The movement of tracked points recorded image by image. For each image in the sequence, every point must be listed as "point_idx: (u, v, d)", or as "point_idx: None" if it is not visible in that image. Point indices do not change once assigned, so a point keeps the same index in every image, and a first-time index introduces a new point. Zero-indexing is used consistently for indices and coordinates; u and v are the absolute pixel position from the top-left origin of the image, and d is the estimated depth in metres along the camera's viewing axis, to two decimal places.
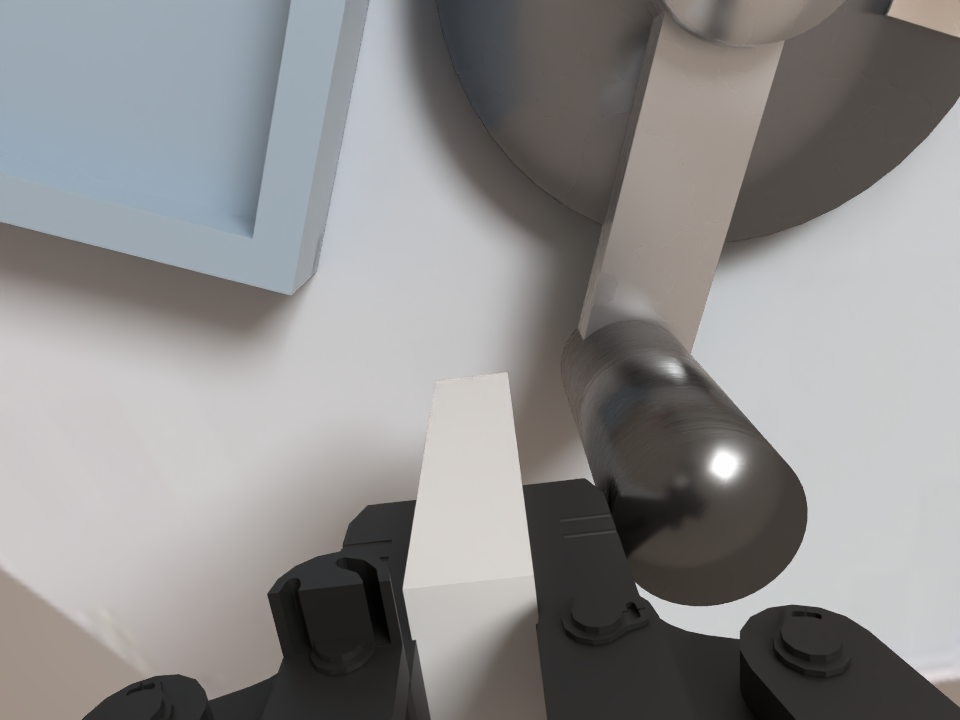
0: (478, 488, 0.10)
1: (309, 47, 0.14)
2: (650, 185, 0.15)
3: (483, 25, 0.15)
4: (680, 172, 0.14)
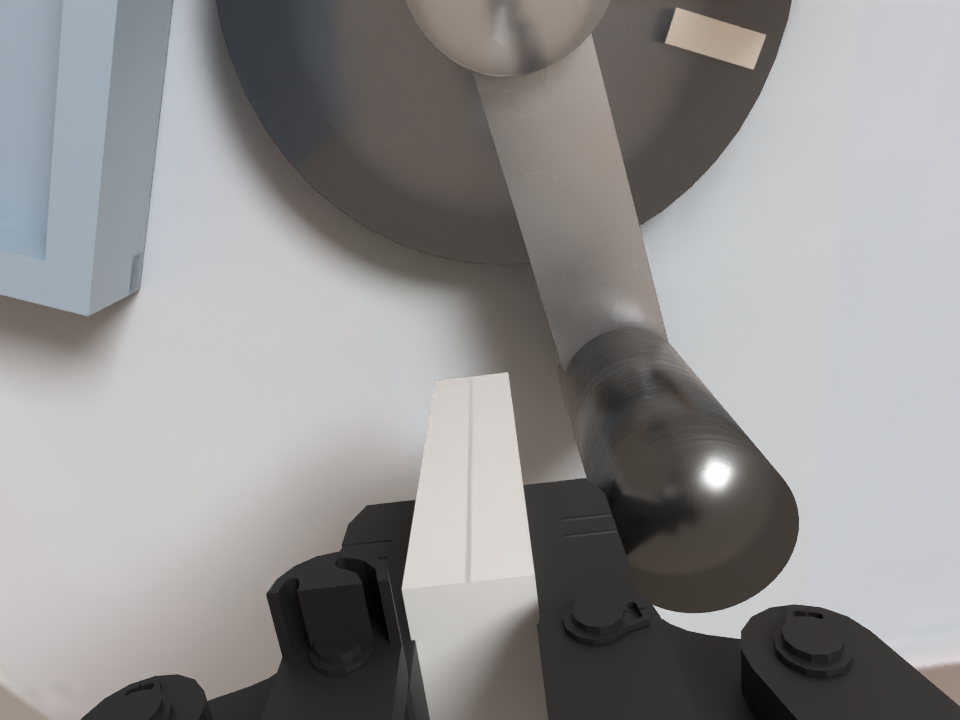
0: (477, 488, 0.10)
1: (83, 75, 0.14)
2: (545, 217, 0.15)
3: (270, 51, 0.15)
4: (566, 192, 0.15)
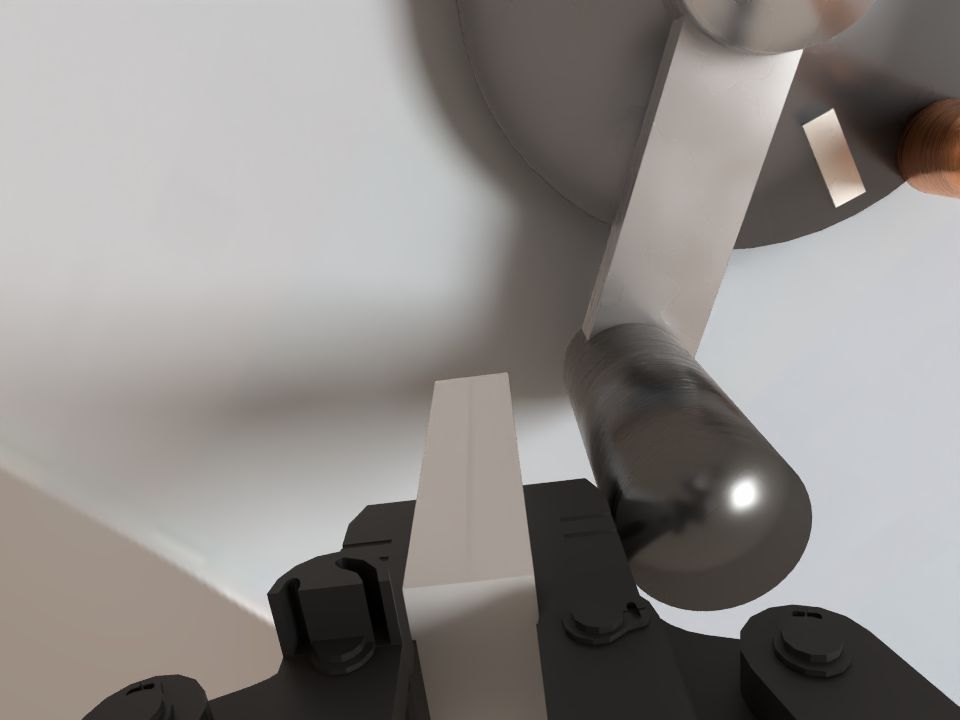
0: (478, 488, 0.10)
1: None
2: (662, 188, 0.15)
3: None
4: (693, 176, 0.14)
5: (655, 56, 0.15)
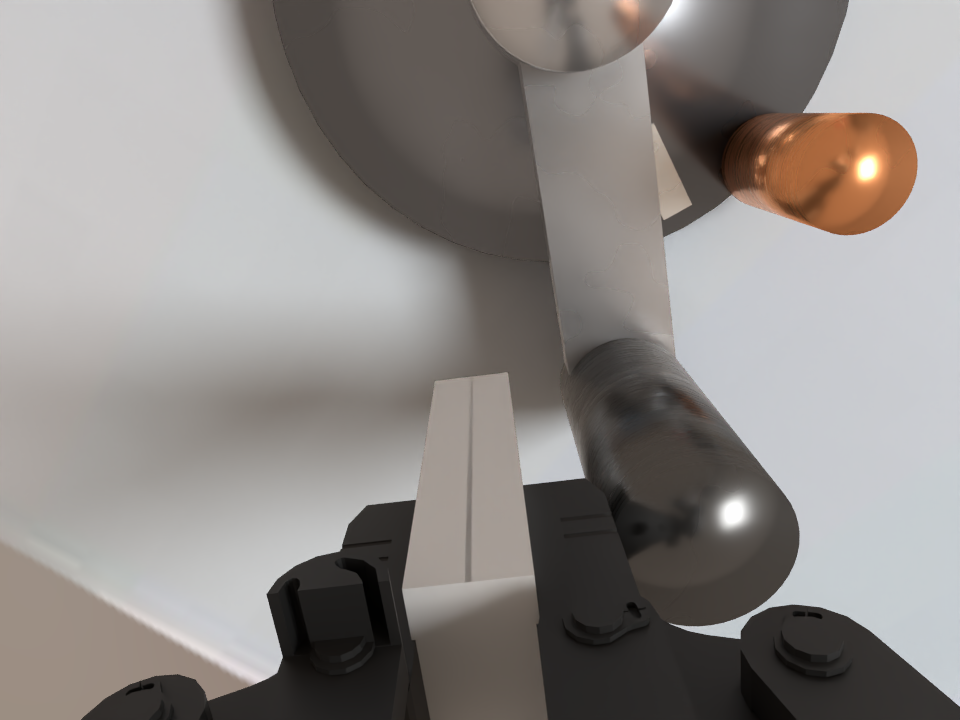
0: (477, 488, 0.10)
1: None
2: (572, 218, 0.15)
3: None
4: (595, 195, 0.15)
5: (475, 72, 0.15)
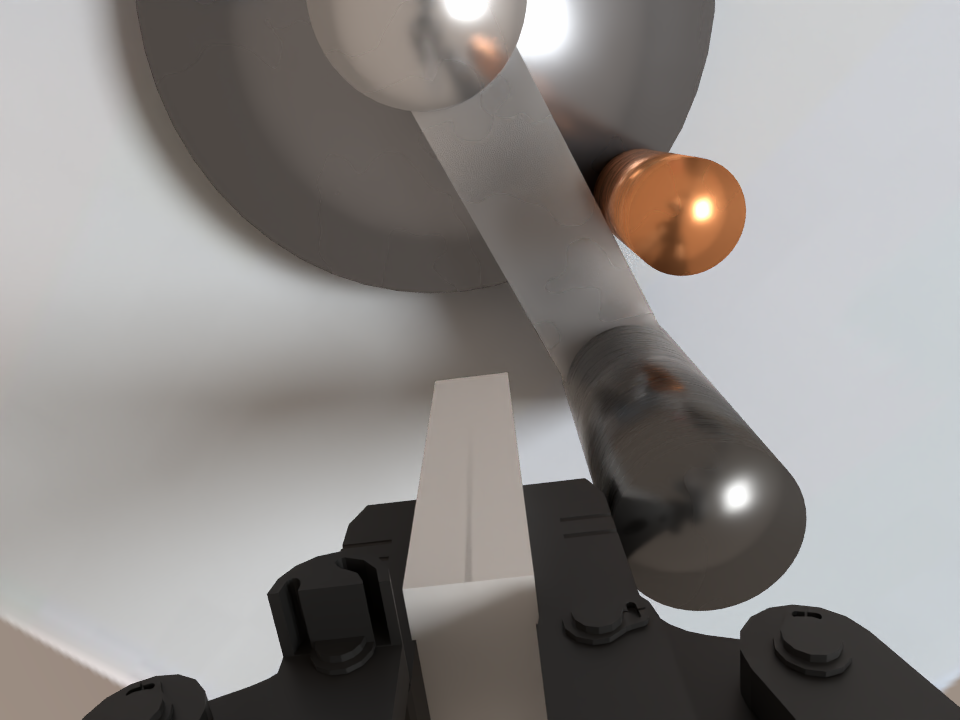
0: (478, 488, 0.10)
1: None
2: (512, 235, 0.15)
3: None
4: (527, 207, 0.15)
5: (345, 108, 0.15)
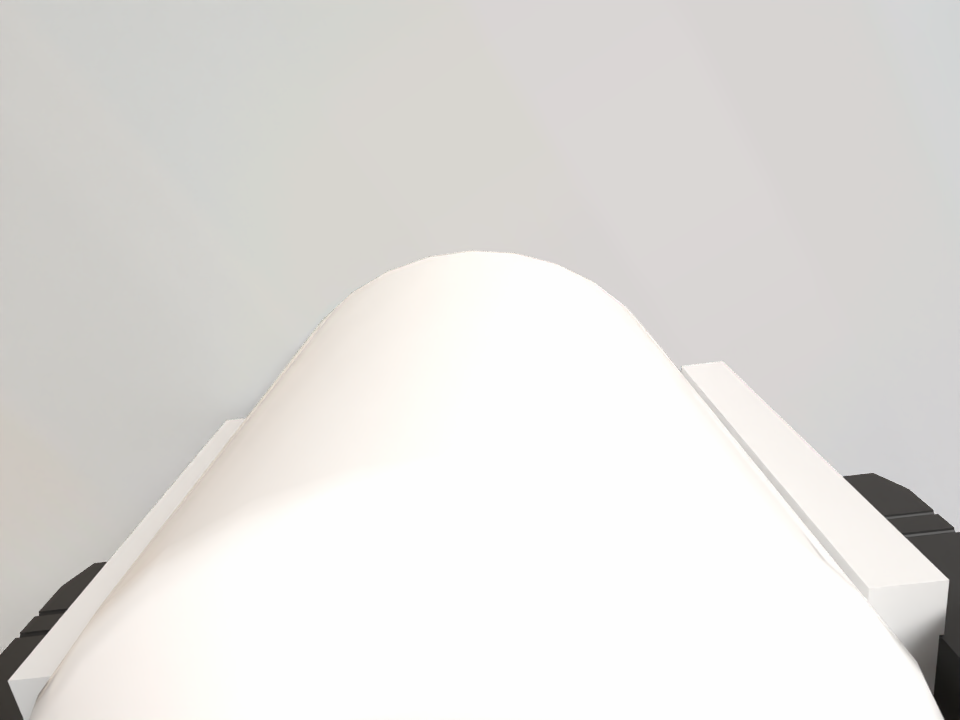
0: None
1: None
2: None
3: None
4: None
5: None
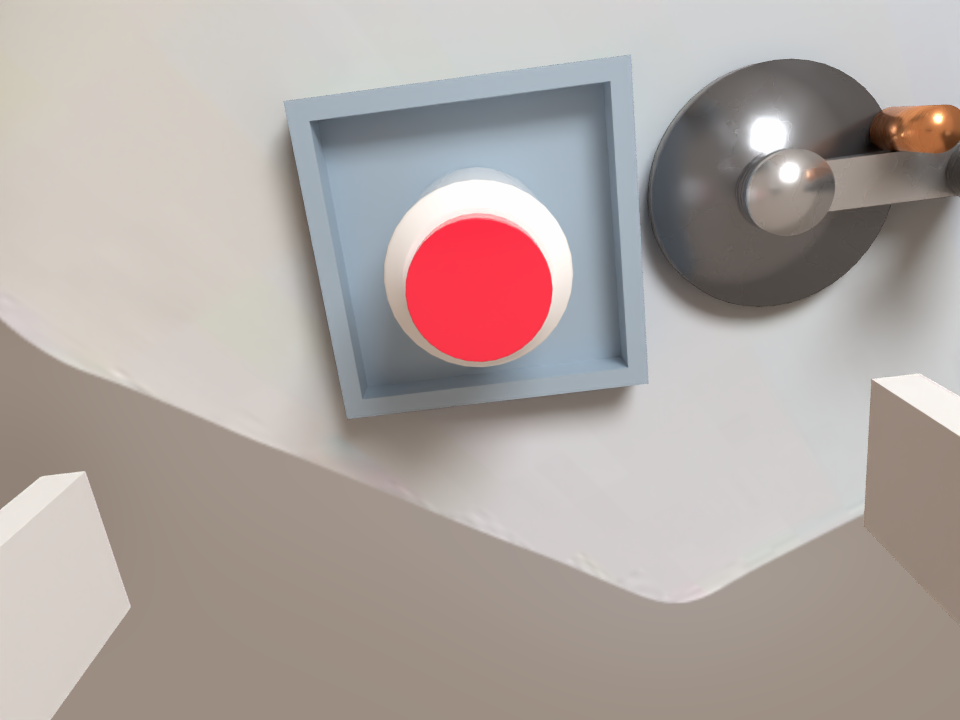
0: None
1: (633, 292, 0.36)
2: (885, 192, 0.34)
3: (687, 253, 0.36)
4: (877, 181, 0.34)
5: (789, 237, 0.36)
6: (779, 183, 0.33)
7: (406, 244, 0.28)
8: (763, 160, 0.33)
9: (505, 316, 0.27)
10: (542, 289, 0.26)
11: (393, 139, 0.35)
